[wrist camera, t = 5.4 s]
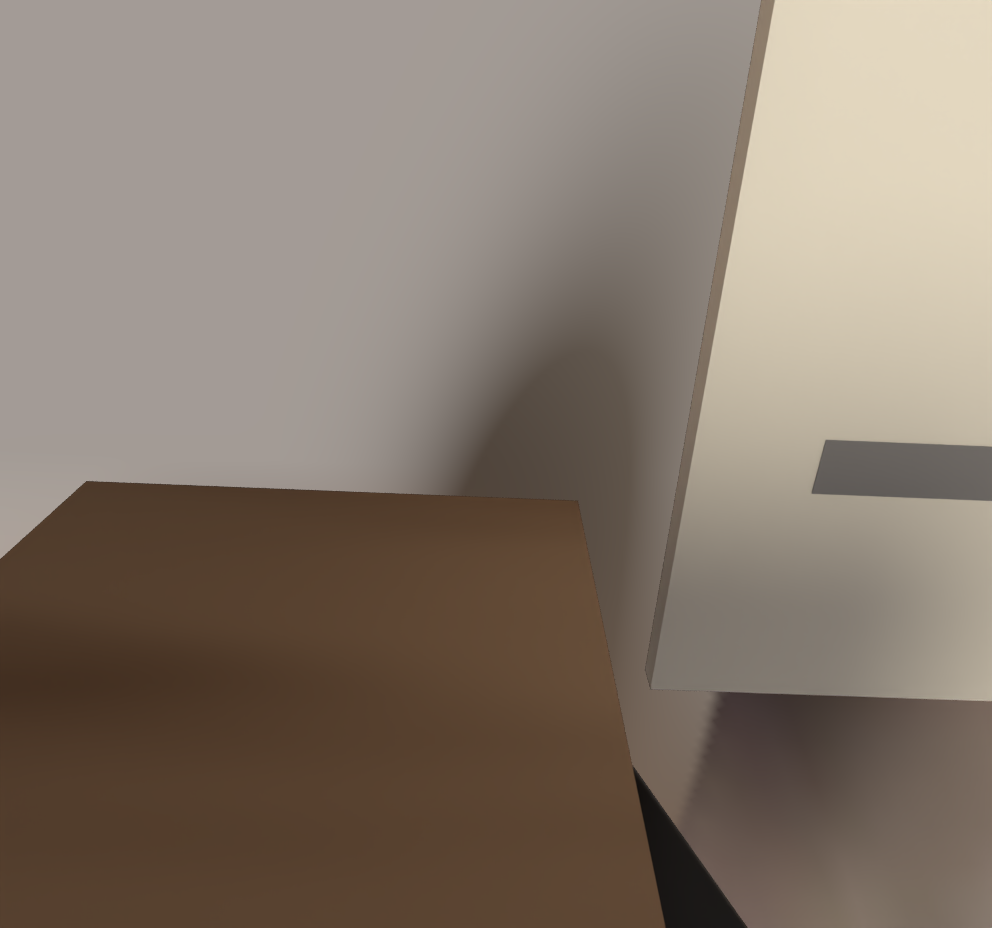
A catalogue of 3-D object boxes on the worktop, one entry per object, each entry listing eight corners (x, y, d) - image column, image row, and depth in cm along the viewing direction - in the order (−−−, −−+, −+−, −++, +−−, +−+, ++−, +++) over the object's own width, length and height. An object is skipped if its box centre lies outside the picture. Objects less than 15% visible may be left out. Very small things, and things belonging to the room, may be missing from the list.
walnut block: (542, 830, 10) (581, 1458, 5) (163, 818, 10) (-134, 1447, 5) (577, 501, 7) (698, 1089, 3) (86, 481, 7) (-555, 1058, 3)
